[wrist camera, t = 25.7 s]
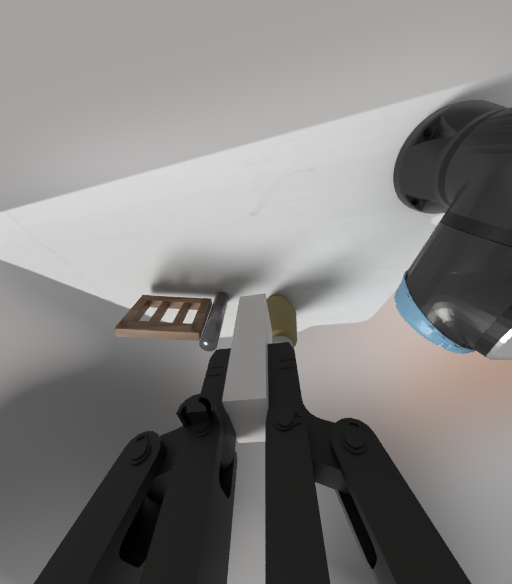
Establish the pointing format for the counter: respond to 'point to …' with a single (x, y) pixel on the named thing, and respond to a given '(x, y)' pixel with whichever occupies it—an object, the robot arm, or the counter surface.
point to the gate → (164, 330)
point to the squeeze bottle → (282, 320)
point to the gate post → (214, 322)
